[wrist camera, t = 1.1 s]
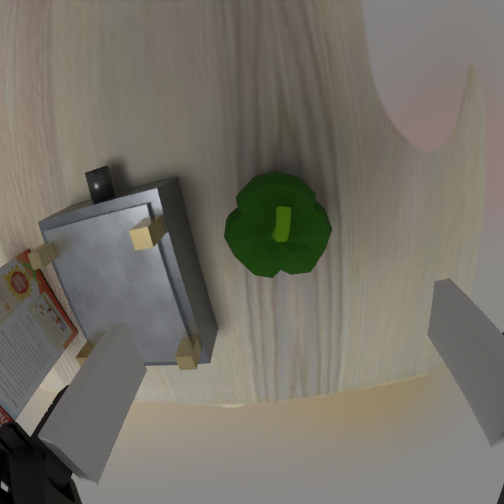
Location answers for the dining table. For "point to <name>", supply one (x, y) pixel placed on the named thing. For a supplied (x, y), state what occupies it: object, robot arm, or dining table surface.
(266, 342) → the dining table surface
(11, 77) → the dining table surface
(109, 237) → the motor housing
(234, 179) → the dining table surface
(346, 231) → the dining table surface
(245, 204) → the bell pepper
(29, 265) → the cracker box
